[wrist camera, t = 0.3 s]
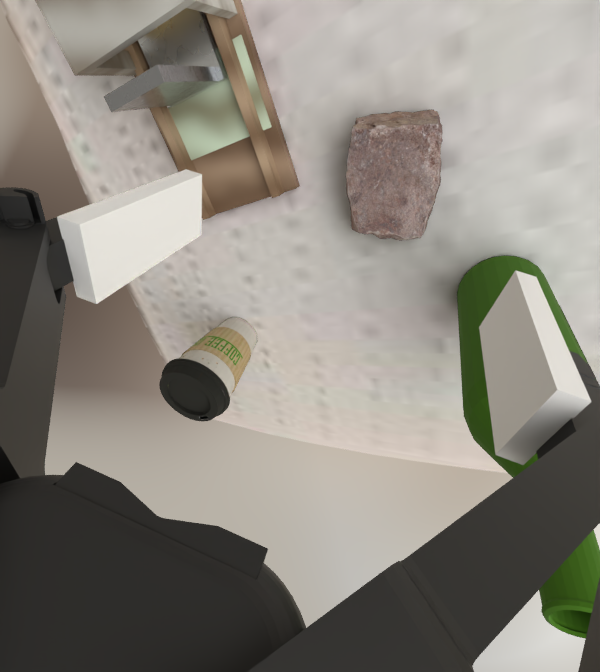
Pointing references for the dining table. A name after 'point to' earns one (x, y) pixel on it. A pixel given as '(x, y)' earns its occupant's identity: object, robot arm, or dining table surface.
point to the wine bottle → (586, 560)
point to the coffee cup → (209, 371)
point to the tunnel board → (198, 111)
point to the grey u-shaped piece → (172, 65)
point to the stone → (394, 173)
